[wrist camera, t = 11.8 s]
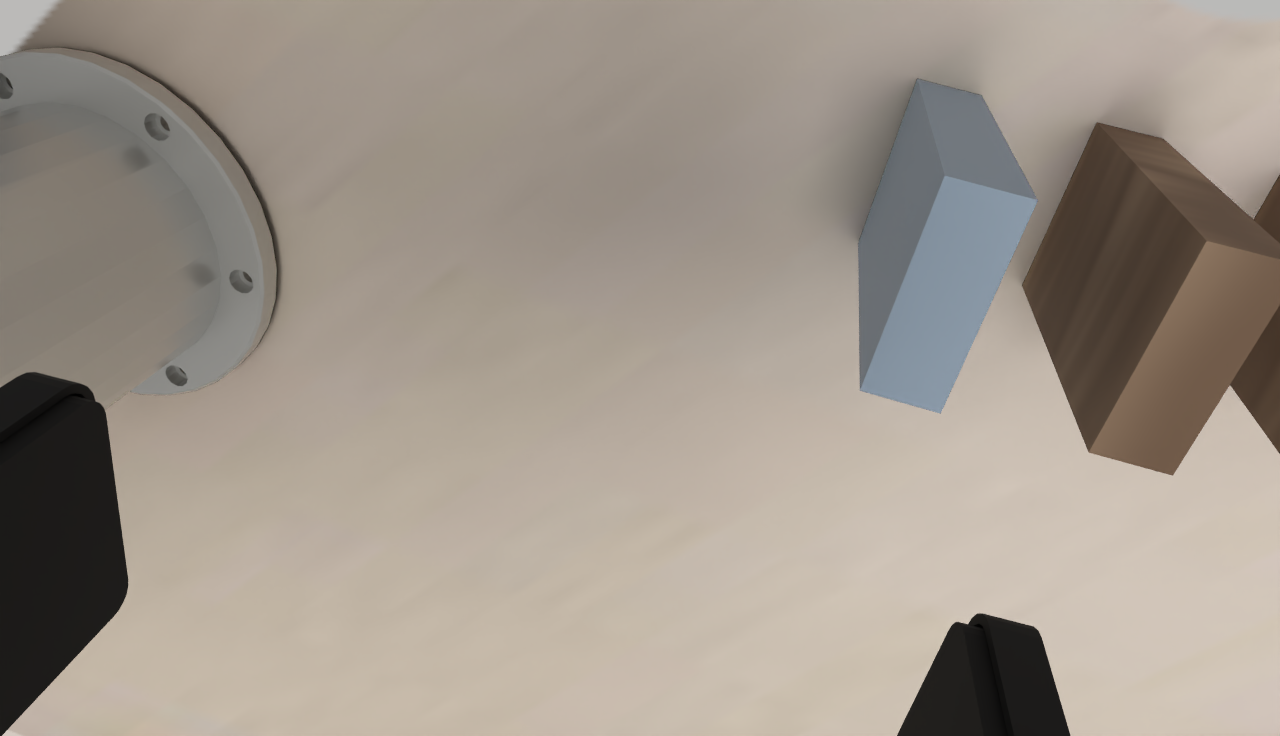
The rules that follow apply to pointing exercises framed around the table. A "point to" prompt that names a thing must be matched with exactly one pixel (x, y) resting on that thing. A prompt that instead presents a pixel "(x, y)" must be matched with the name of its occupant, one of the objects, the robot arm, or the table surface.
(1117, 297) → the domino
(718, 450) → the table surface
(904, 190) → the domino
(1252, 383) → the domino
